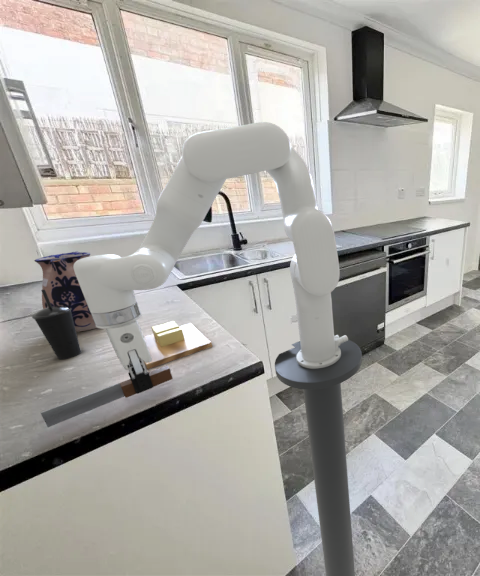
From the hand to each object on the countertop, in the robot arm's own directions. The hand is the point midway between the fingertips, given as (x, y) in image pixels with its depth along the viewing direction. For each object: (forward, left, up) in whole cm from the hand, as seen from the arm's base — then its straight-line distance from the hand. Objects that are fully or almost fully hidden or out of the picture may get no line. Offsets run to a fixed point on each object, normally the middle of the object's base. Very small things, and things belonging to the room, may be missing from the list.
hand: (143, 386), depth 70 cm
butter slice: (-11, -21, -1) cm, 24 cm away
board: (-11, -23, -2) cm, 25 cm away
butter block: (-11, -27, -1) cm, 29 cm away
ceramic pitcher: (+5, -62, -3) cm, 62 cm away
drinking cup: (+11, -39, -3) cm, 40 cm away
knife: (+5, 0, -1) cm, 5 cm away
